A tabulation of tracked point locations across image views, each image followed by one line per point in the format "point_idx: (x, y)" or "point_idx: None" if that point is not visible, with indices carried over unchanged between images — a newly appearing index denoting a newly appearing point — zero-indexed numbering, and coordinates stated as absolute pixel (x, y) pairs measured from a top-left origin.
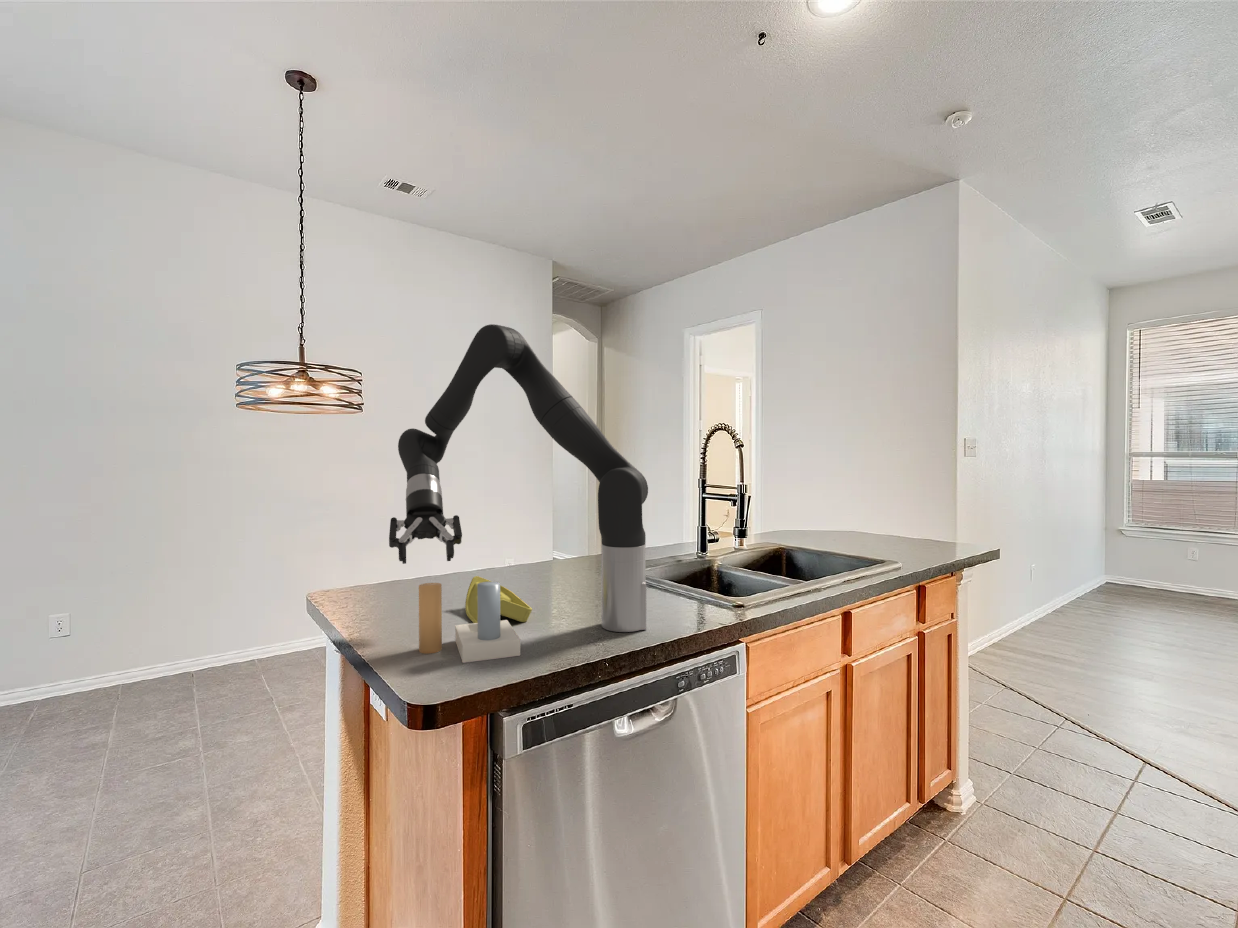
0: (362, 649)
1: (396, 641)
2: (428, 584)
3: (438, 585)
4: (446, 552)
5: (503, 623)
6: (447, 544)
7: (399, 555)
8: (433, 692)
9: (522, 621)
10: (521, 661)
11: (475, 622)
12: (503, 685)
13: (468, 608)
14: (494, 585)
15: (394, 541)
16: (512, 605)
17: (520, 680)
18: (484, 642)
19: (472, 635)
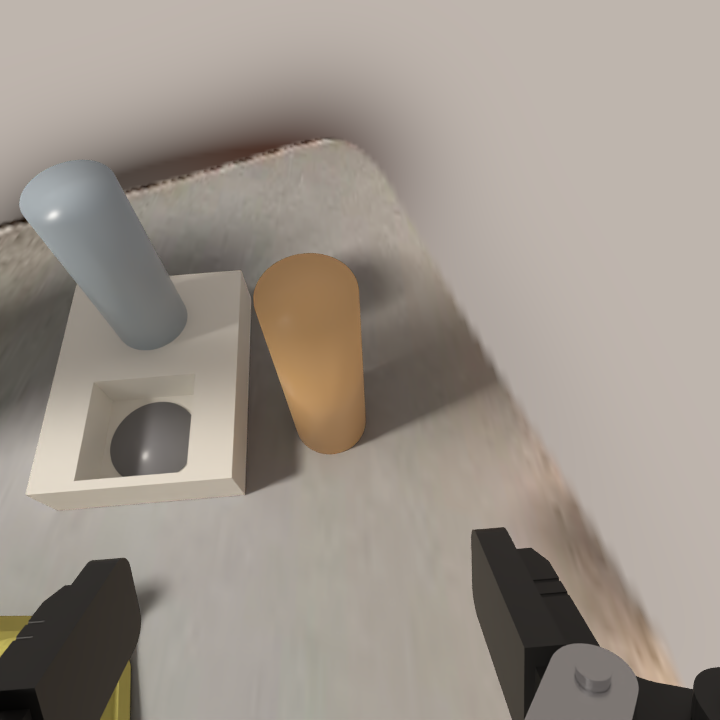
0: (555, 487)
1: (453, 550)
2: (313, 307)
3: (269, 276)
4: (100, 698)
5: (58, 449)
6: (55, 644)
7: (540, 558)
8: (326, 175)
9: None
10: None
11: (122, 709)
12: (193, 175)
13: None
14: (59, 167)
15: (687, 703)
16: None
17: (154, 187)
18: (179, 279)
19: (197, 345)
